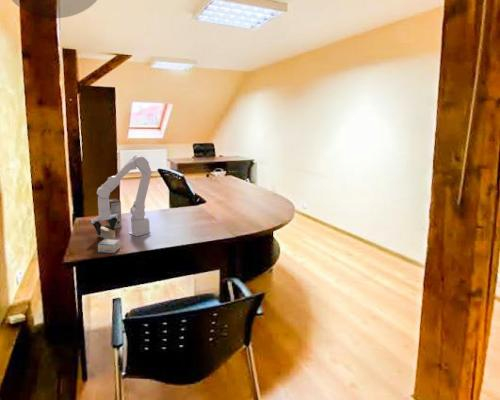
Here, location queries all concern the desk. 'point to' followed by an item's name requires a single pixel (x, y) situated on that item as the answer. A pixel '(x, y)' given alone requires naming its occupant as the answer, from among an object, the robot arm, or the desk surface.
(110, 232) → the beige block
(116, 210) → the coffee box
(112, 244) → the medicine box
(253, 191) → the desk surface
